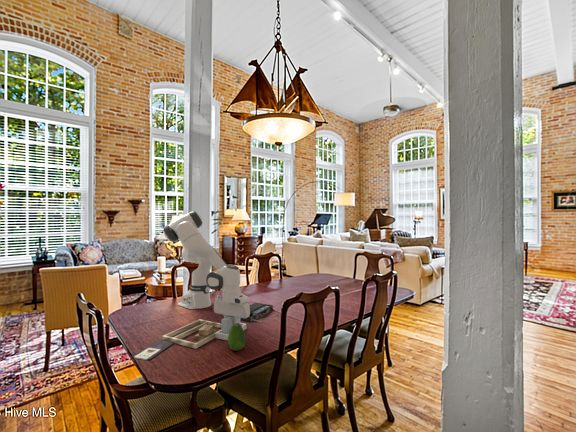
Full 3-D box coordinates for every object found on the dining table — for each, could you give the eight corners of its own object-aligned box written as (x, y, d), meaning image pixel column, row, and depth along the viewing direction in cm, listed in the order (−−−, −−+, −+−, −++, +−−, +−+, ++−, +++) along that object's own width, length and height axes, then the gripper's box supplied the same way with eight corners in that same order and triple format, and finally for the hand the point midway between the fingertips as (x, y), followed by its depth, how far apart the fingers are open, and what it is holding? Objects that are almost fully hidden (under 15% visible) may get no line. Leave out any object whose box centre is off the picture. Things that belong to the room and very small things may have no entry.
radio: (255, 300, 201) (282, 304, 192) (255, 307, 201) (282, 311, 192) (232, 311, 179) (261, 317, 170) (232, 318, 179) (261, 324, 170)
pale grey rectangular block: (221, 333, 152) (221, 319, 152) (235, 325, 163) (235, 312, 163) (226, 334, 151) (226, 320, 151) (240, 326, 162) (240, 313, 161)
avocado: (224, 351, 136) (224, 324, 136) (236, 344, 143) (236, 319, 143) (237, 356, 132) (237, 328, 132) (249, 349, 138) (249, 322, 138)
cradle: (215, 337, 151) (215, 332, 151) (235, 326, 166) (235, 321, 166) (226, 340, 148) (226, 335, 148) (246, 328, 163) (246, 323, 163)
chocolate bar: (175, 341, 145) (149, 359, 127) (175, 343, 145) (149, 361, 127) (159, 339, 147) (131, 356, 130) (159, 341, 147) (131, 358, 130)
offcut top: (198, 334, 149) (198, 329, 149) (204, 329, 156) (204, 324, 156) (207, 335, 148) (207, 330, 148) (213, 330, 155) (213, 325, 155)
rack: (162, 340, 148) (162, 335, 148) (199, 322, 171) (199, 319, 171) (195, 348, 139) (195, 344, 139) (230, 329, 162) (230, 325, 162)
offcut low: (194, 340, 149) (194, 335, 149) (208, 333, 158) (208, 328, 158) (202, 342, 147) (202, 337, 147) (216, 334, 156) (216, 330, 156)
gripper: (211, 295, 158) (211, 322, 159) (244, 301, 150) (244, 329, 150) (219, 293, 164) (218, 318, 164) (251, 298, 155) (251, 325, 155)
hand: (231, 324), depth 157 cm, fingers closed on pale grey rectangular block, 3 cm apart
